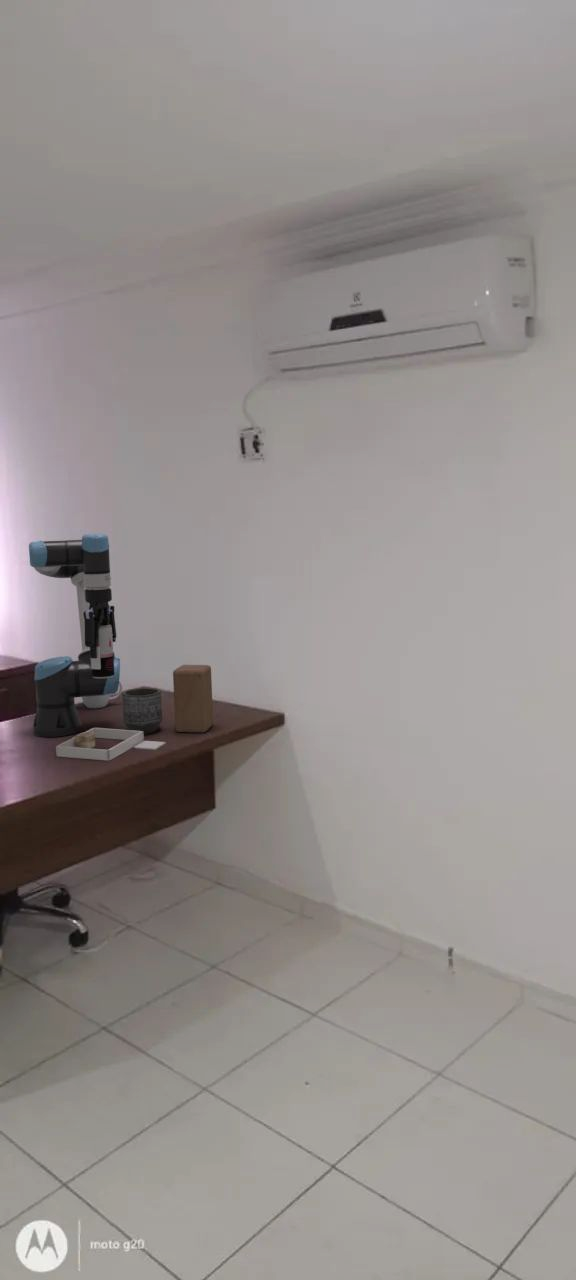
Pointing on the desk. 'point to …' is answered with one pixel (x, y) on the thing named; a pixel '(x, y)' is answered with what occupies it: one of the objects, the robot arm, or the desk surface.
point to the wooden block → (193, 698)
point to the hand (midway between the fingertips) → (102, 666)
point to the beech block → (85, 740)
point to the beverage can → (105, 653)
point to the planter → (142, 709)
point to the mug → (100, 699)
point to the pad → (150, 745)
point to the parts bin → (99, 754)
